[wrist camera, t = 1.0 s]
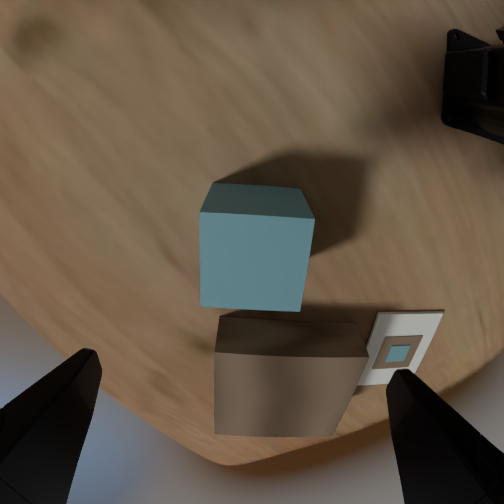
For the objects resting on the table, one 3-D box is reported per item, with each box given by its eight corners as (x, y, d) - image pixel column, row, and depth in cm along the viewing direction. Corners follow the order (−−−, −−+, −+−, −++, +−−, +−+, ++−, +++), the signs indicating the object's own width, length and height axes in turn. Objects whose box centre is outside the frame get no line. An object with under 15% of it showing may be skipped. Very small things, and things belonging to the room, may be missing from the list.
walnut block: (355, 319, 23) (369, 357, 20) (326, 401, 28) (332, 435, 24) (220, 313, 23) (214, 352, 19) (218, 397, 27) (214, 433, 24)
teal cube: (299, 187, 19) (315, 219, 14) (290, 263, 21) (300, 311, 16) (212, 182, 18) (199, 211, 14) (211, 259, 21) (200, 306, 16)
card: (442, 311, 23) (444, 314, 22) (409, 379, 26) (410, 382, 26) (377, 311, 22) (379, 315, 22) (351, 383, 26) (352, 387, 26)
